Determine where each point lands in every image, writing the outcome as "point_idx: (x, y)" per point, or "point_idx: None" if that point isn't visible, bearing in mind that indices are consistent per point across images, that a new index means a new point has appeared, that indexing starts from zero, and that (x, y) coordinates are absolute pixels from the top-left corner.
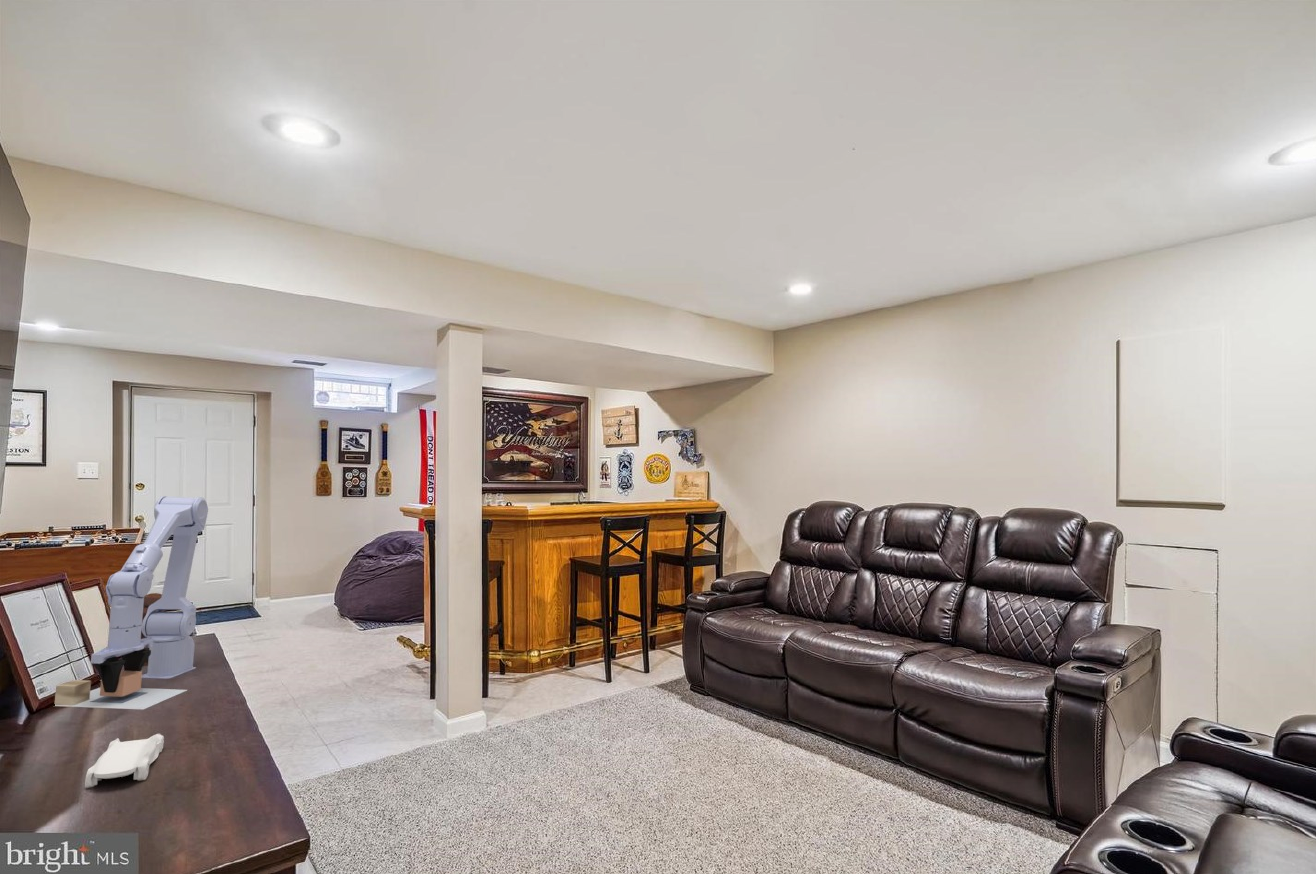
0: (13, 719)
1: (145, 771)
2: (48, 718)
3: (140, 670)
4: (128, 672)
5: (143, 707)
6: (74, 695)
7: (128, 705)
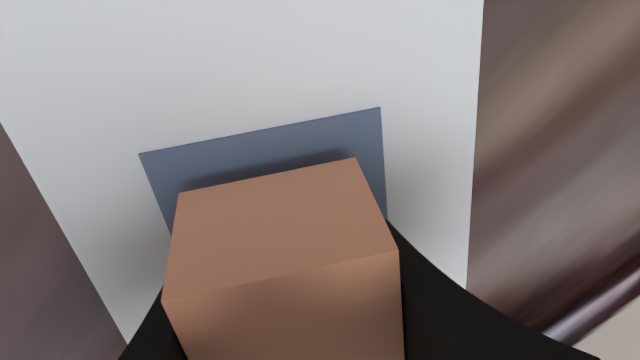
0: (587, 331)
1: None
2: (587, 243)
3: (140, 339)
4: (244, 353)
5: None
6: None
7: (415, 20)
